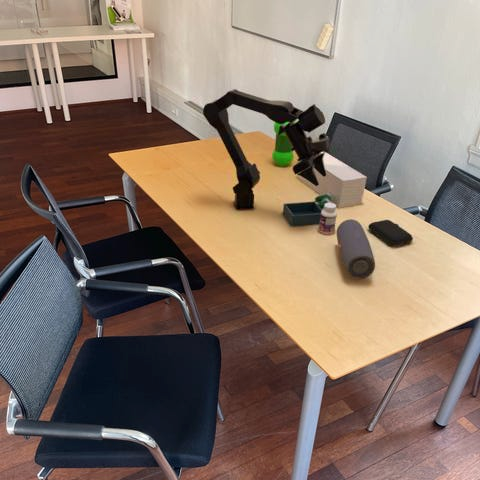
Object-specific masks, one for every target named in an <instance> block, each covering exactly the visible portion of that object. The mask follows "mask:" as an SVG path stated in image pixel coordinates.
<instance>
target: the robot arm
mask: <svg viewBox="0 0 480 480" xmlns="http://www.w3.org/2000/svg"><path fill="white" fill-rule="evenodd" d="M231 106H237V107H240V108H243V109H245V110H246V109H247V110H249V111H252V112H256V113H258V114H261V115H264V116H266V117H267V118H268V119H269V120H270V121H272V122H273V123H274V122H276V123H278V124H284V123H286V122H289V123H288V124H286V125H281V126H279V132H278V135H280V134H282V133H283V132H284V133H285V134H286V136H287V138H288V140H289V142H290V143H291V145H292V148H291V150H292V151H293V152H294V153H295V154H296V156H297V159H296V160H297V162H295V164H294V165H292V172H293V174H294V175H296V176H298V175H300V176H301V177H303V178H305V179H306V180H308V181H309V182H311V183H312V184H314V185H315V186H318V185H319V183H318V180H317V178H316V175H315V173H314V170H313V169H314V168H315V169H316V170H317V171H318V172H319V173H320V174H321V175H322V176H323V177H325V176H326V171H325V167H324V162H323V157H324V154H325V152H326V151H327V150H328V149H329V148H330V147H331V146H330V141H331V138H330V137H329V136H328V135H327V134H326V132H322V133H320V134H319V135H318V137H317V138H314V139H313V138H312V136H311V135H307V134H306V132H307V133H309V134H310V133H311V132H314V131H315V130H316V129H318V128H319V127H321V126H323V125H324V124H326V117H325V115H324V112H323V111H321V109H320V108H319V107H317V106H316V104H315V103H313V104H312V105H310V106H309V107H308V108H307V109H305V110H302V109H300V108H297V107H295V106H294V105H293V103H292V102H290V101H287V100H269V99H265V98H262V97H259V96H257V95H253V94H250V93H246V92H243V91H241V90H238V89H236V88H233V89H230V90H229V91H227V92H226V93H225V94H224V95H222V96H221V97H220V98H216V99H214V100H211V101H209V102H208V103H206V104H205V105H204V106H203V109H202V114H203V117H204V118H205V119H206V122H207V123H208V124H209V126H211V127H212V128H213V129H215V130H216V132H217V133H218V135H219V137H220V139H221V141H222V143H223V145H224V147H225V149H226V151H227V153H228V155H229V157H230V159H231V161H232V163H233V165H234V167H235V171H236V173H235V174H236V179H237V183H236V184H235V185H234V186H233V187H232V191H233V193H234V201H233V205H234V207H235V208H236V210H250V209H251V210H253V209H254V208H255V206H254V205H255V194H254V190H253V189H254V188H255V187H256V186H257V185H258V184H259V182H260V180H261V175H260V174H261V171H259V169H258V167H257V164H256V163H255V162H254V163H253V164H252V163H251V162H249V161H248V159H247V157H246V155H245V152H244V151H243V149H242V147H241V145H240V143H239V141H238V139H237V137H236V135H235V133H234V131H233V129H232V127H231V125H230V119H229V112H228V109H229V108H230V107H231ZM295 120H296V122H295V123H294V122H293V121H295ZM321 152H323V153H321Z"/></svg>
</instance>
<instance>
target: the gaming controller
mask: <svg viewBox="0 0 480 480" xmlns="http://www.w3.org/2000/svg"><path fill="white" fill-rule="evenodd" d="M314 200H315V202H316V203H317V202H318V203H317V204H318V206H319V207H320V208H321V209H322V210H323V209H324V205H325V203H331V195H330V194H329V193H327V194H326V195H317V196H316V197H315V198H314Z"/></svg>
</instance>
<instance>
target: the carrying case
mask: <svg viewBox="0 0 480 480" xmlns="http://www.w3.org/2000/svg"><path fill="white" fill-rule="evenodd" d="M367 228H368V229H369V231H370V232H371V233H373V235H375V236H376V237H378V238H380V239H381V240H382V241H384V242H385V243H387V244H388V245H389V246H391V247H395V246H401V245H405V244H409V243H411V242H412V241H413V240H414V237H413V236H412V234H411V233H410V232H408V231H407V230H406V229H404V228H402V227H401V226H399V224H398V223H394V222H393V221H392V220H390V219H383V220H378V221H373V222H371V223H369V224H368V227H367Z"/></svg>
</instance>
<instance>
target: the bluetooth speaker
mask: <svg viewBox="0 0 480 480" xmlns="http://www.w3.org/2000/svg"><path fill="white" fill-rule="evenodd" d="M336 241H337V246H338V251H339V254H340V257H341V260H342V263H343V266H344V269H345V271H346V273H347V275H348V276H349V277H350V278H352V279H356V280H364V279H367V278H369V277H370V276H371V275H372V274H373V273H374V271H375V269H376V261H375V260H376V259H375V256H374V253H373V250H372V247H371V243H370V241H369V238H368V236H367V234H366V231H365V229H364V227H363V225H362V224H361V223H360V222H359V221H358V220H356V219H353V218H352V219H350V218H349V219H346V220H343V221H342V222H341V223H340V224H339V225H338V226H337V228H336Z"/></svg>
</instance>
